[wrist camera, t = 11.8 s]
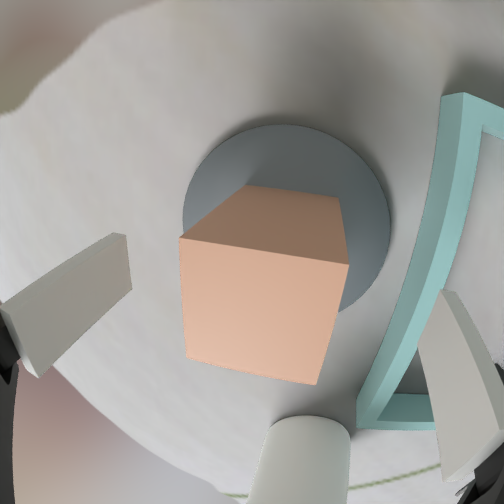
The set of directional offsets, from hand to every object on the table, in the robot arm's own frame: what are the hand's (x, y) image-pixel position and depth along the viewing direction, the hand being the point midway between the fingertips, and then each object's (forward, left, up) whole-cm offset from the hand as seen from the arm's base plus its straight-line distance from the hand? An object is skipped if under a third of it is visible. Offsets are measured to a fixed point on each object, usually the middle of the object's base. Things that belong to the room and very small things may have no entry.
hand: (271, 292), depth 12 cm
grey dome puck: (0, 0, -6) cm, 6 cm away
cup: (-5, +22, -7) cm, 23 cm away
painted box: (0, 0, -6) cm, 6 cm away
